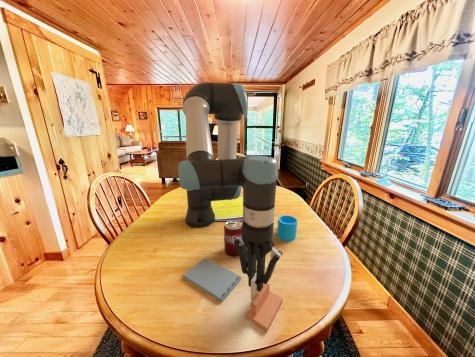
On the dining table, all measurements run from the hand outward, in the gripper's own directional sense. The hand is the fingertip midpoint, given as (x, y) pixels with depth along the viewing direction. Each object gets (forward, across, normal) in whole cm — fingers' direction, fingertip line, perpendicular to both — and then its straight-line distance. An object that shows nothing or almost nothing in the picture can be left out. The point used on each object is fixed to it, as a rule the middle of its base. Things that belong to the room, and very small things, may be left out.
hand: (255, 297), depth 53 cm
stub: (+2, +3, 0) cm, 4 cm away
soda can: (+3, -18, +15) cm, 24 cm away
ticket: (+2, -16, 0) cm, 16 cm away
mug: (+3, -6, +39) cm, 40 cm away
